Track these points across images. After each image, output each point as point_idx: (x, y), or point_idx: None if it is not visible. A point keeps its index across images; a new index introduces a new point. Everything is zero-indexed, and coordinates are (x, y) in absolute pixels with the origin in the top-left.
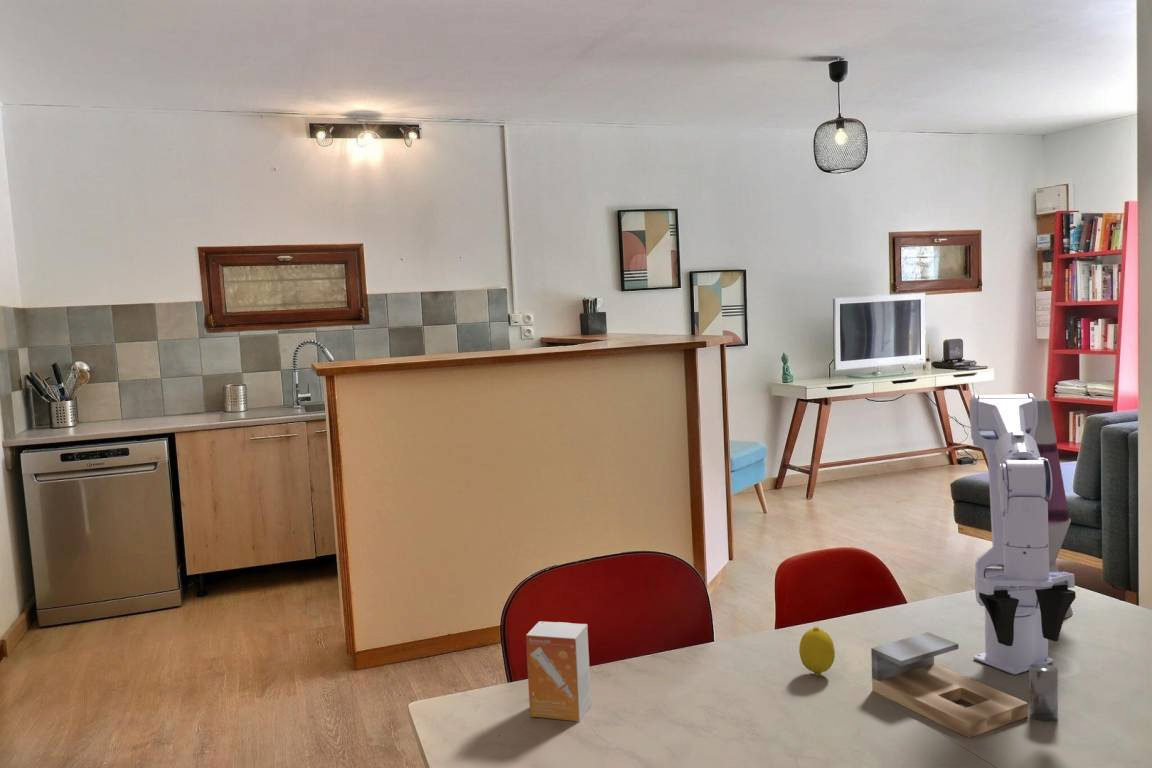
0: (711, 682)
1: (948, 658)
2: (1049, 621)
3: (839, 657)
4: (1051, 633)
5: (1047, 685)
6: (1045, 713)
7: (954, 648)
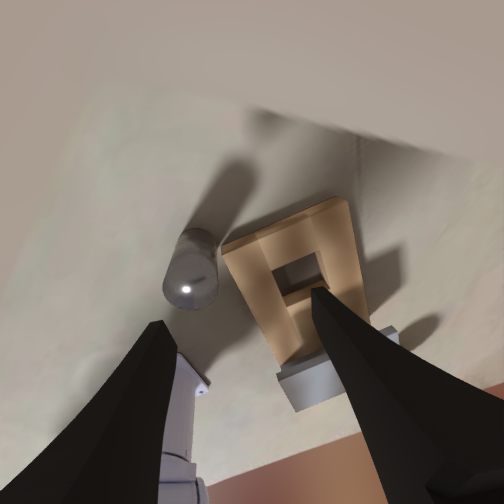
0: (484, 343)
1: (235, 388)
2: (154, 387)
3: None
4: (162, 344)
5: (197, 253)
6: (202, 234)
7: (285, 372)
